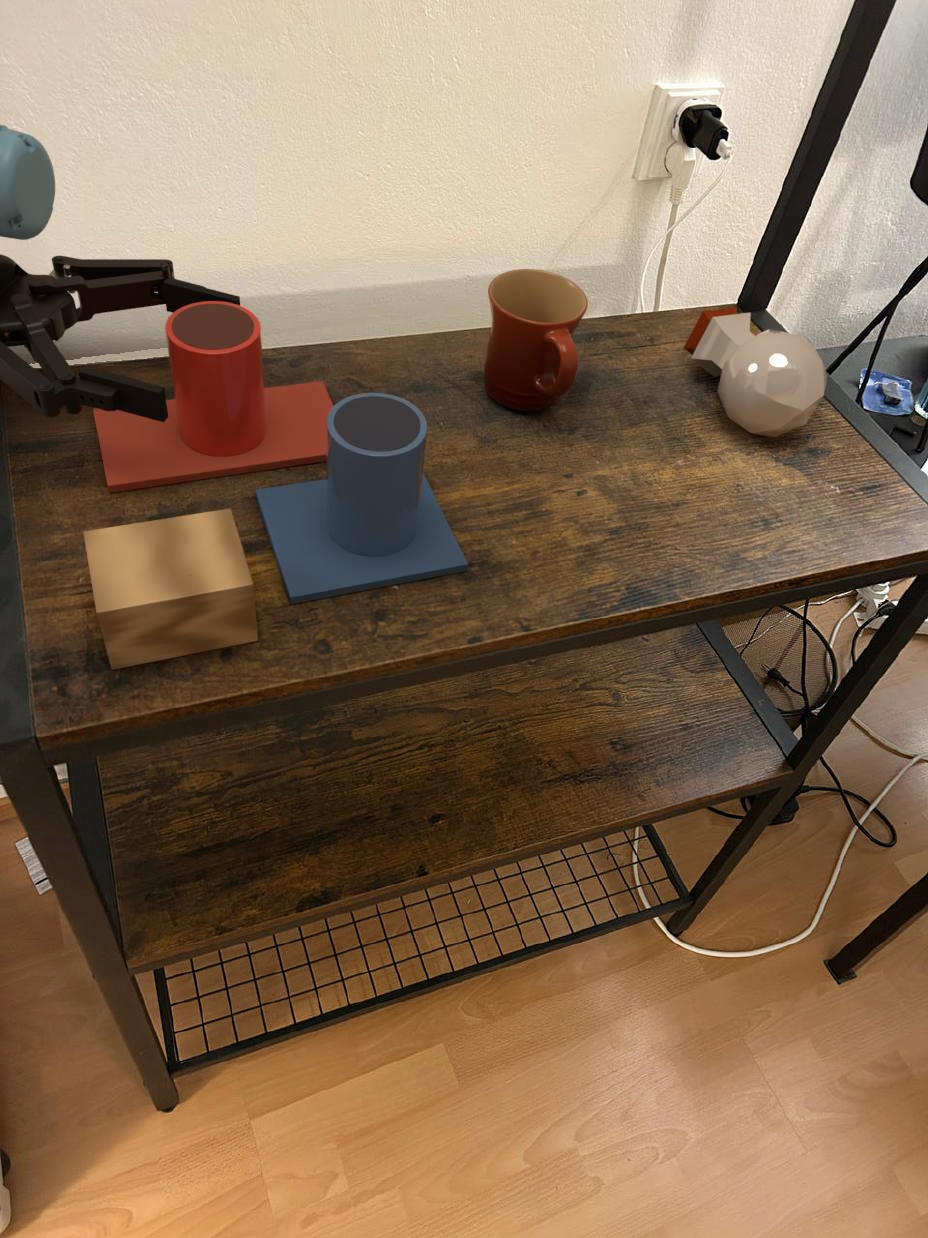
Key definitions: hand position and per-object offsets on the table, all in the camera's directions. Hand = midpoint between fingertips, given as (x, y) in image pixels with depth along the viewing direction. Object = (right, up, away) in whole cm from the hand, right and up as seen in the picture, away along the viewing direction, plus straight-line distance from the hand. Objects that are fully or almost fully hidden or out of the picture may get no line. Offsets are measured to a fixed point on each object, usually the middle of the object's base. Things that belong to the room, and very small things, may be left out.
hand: (204, 356), depth 77 cm
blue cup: (+13, -13, 0) cm, 19 cm away
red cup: (0, -5, +5) cm, 7 cm away
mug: (+27, -1, +14) cm, 30 cm away
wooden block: (0, -21, -7) cm, 22 cm away
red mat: (0, -5, +6) cm, 8 cm away
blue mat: (+12, -14, 0) cm, 19 cm away
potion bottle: (+47, 0, +17) cm, 50 cm away
